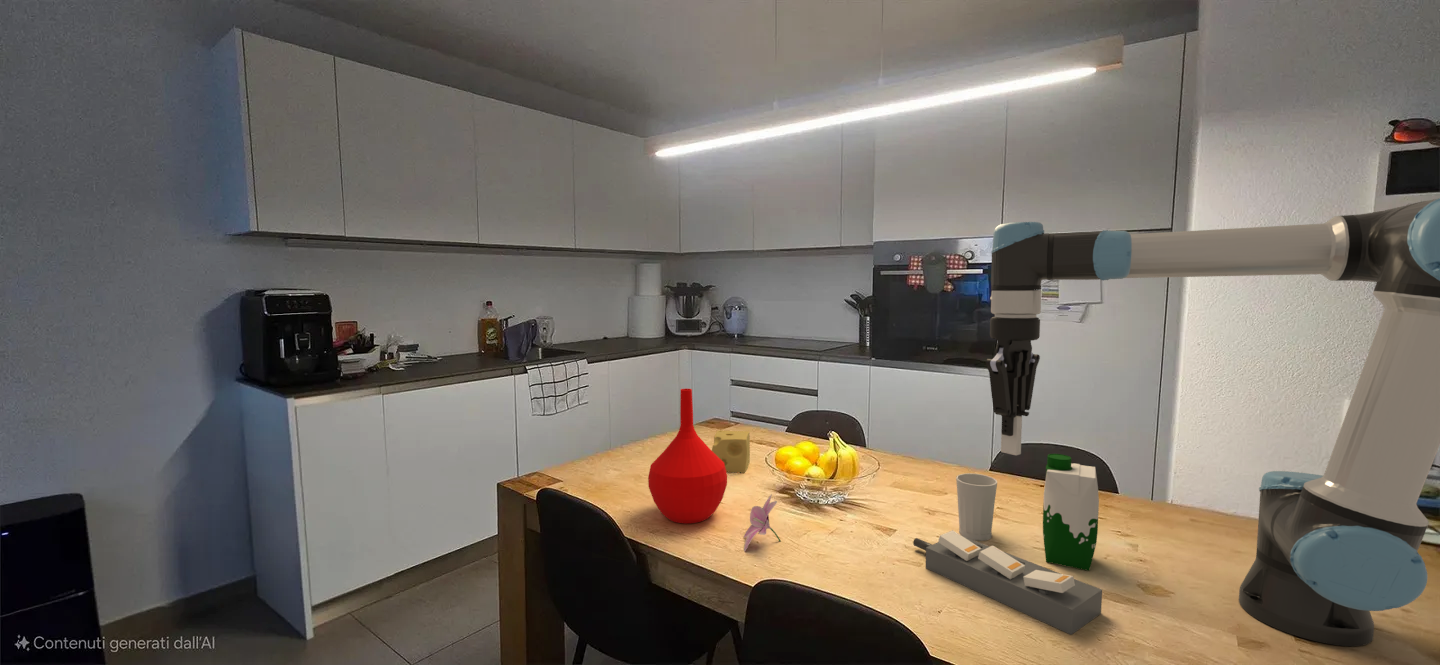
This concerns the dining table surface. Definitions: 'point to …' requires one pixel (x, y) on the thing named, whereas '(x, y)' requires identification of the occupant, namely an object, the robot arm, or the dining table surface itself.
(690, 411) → the vase
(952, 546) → the rocker
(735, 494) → the dining table surface
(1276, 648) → the dining table surface
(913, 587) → the dining table surface
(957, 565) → the power strip
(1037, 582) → the rocker
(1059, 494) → the milk carton
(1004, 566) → the rocker
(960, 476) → the cup
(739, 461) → the cheese
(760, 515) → the lily
